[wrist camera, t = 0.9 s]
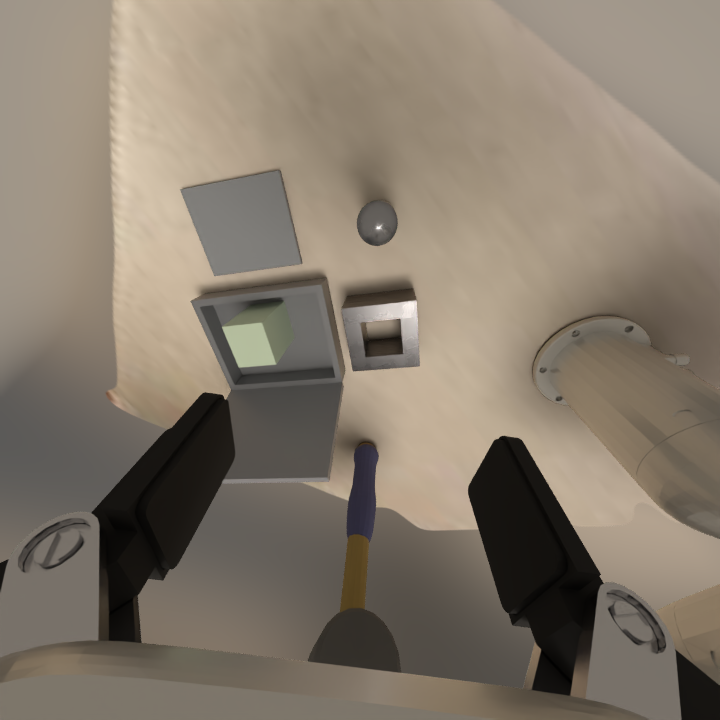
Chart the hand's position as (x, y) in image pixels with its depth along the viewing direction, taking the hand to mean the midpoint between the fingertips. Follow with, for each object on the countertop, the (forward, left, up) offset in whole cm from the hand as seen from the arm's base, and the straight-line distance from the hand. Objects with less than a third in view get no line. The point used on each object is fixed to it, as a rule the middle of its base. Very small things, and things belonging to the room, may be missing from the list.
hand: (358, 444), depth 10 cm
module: (+14, +4, -25) cm, 29 cm away
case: (+14, +6, -26) cm, 30 cm away
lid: (+14, +14, -16) cm, 26 cm away
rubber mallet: (+5, +28, -26) cm, 39 cm away
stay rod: (-1, -6, -26) cm, 26 cm away
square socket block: (0, +6, -26) cm, 26 cm away
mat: (+14, -7, -26) cm, 30 cm away
